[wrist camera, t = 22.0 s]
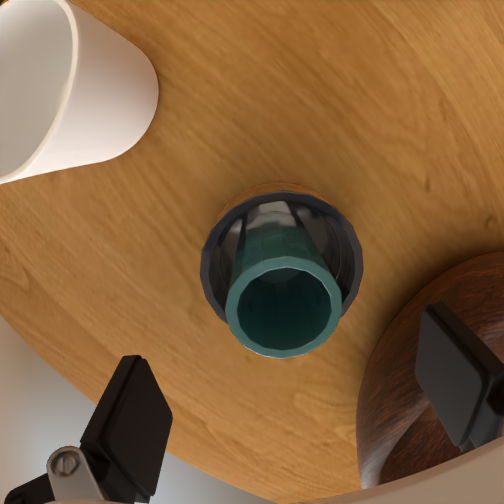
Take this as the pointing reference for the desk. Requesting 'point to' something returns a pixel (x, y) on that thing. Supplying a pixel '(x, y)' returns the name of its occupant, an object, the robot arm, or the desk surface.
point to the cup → (281, 290)
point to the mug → (67, 89)
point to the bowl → (290, 204)
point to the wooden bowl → (404, 380)
